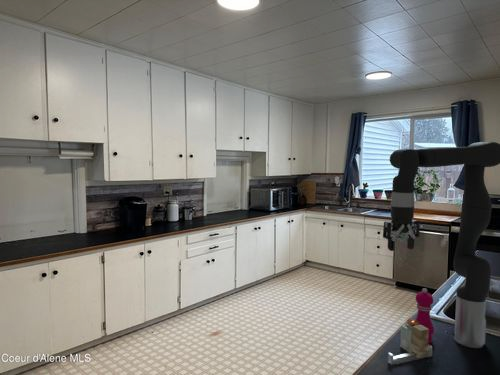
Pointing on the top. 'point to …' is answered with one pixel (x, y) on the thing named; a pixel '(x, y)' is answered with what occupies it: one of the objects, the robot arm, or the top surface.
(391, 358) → the rail
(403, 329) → the cabinet
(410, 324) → the plunger
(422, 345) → the carriage
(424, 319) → the pepper mill
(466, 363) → the top surface
